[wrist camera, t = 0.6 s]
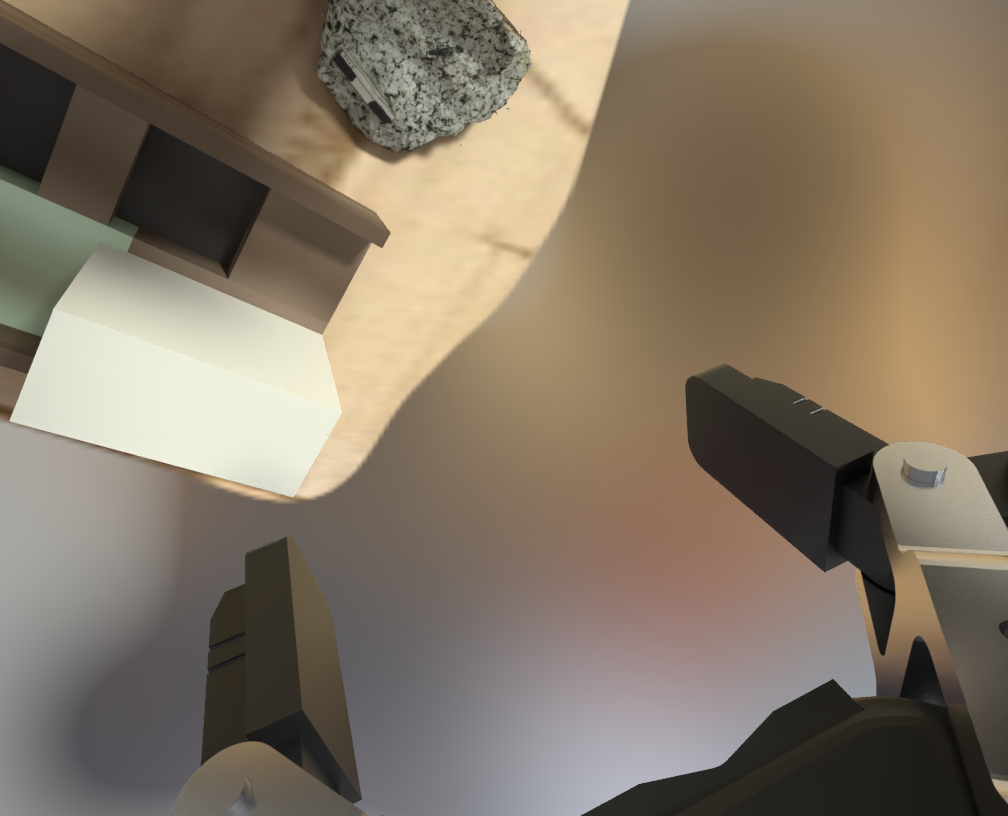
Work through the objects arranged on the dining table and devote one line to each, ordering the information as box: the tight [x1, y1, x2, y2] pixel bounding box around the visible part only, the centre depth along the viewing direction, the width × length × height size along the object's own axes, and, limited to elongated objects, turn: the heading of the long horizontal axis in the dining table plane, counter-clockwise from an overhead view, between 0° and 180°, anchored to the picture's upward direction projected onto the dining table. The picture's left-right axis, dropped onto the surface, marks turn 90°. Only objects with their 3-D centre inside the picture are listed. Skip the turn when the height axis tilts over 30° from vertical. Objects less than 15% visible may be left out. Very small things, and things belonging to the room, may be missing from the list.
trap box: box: [0, 0, 390, 374], centre depth 26 cm, size 12×19×4 cm, turn 56°
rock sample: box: [316, 0, 531, 153], centre depth 26 cm, size 10×8×9 cm
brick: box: [10, 241, 342, 497], centre depth 26 cm, size 4×10×8 cm, turn 56°
